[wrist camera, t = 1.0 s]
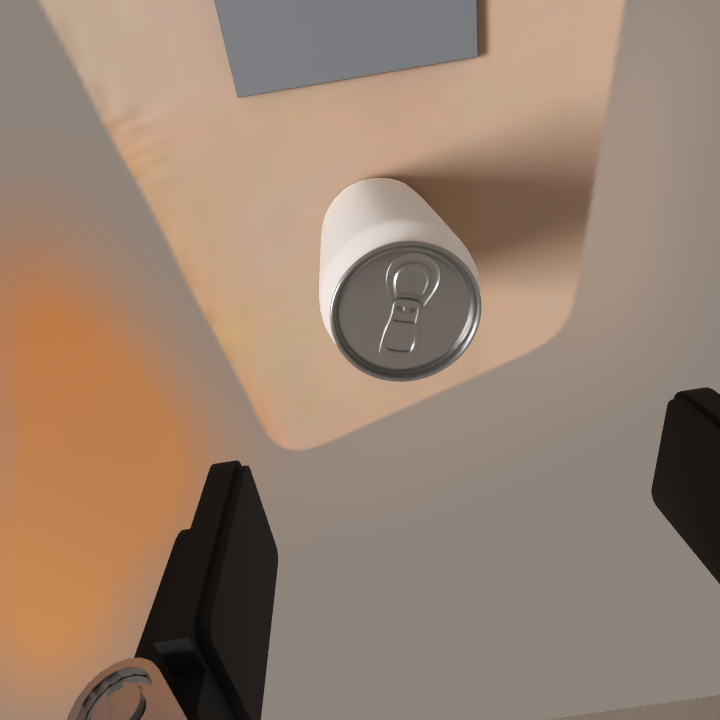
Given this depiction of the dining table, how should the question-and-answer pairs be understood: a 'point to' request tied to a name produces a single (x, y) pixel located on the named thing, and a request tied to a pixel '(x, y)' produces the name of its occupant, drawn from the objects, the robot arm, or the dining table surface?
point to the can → (395, 282)
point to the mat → (339, 39)
